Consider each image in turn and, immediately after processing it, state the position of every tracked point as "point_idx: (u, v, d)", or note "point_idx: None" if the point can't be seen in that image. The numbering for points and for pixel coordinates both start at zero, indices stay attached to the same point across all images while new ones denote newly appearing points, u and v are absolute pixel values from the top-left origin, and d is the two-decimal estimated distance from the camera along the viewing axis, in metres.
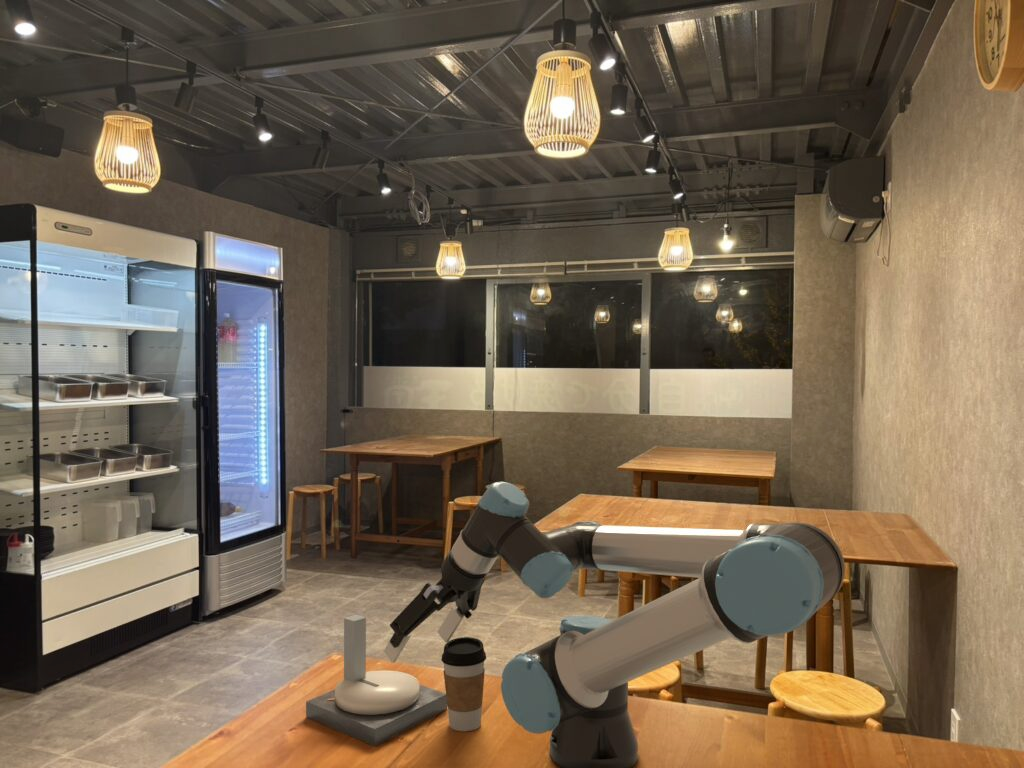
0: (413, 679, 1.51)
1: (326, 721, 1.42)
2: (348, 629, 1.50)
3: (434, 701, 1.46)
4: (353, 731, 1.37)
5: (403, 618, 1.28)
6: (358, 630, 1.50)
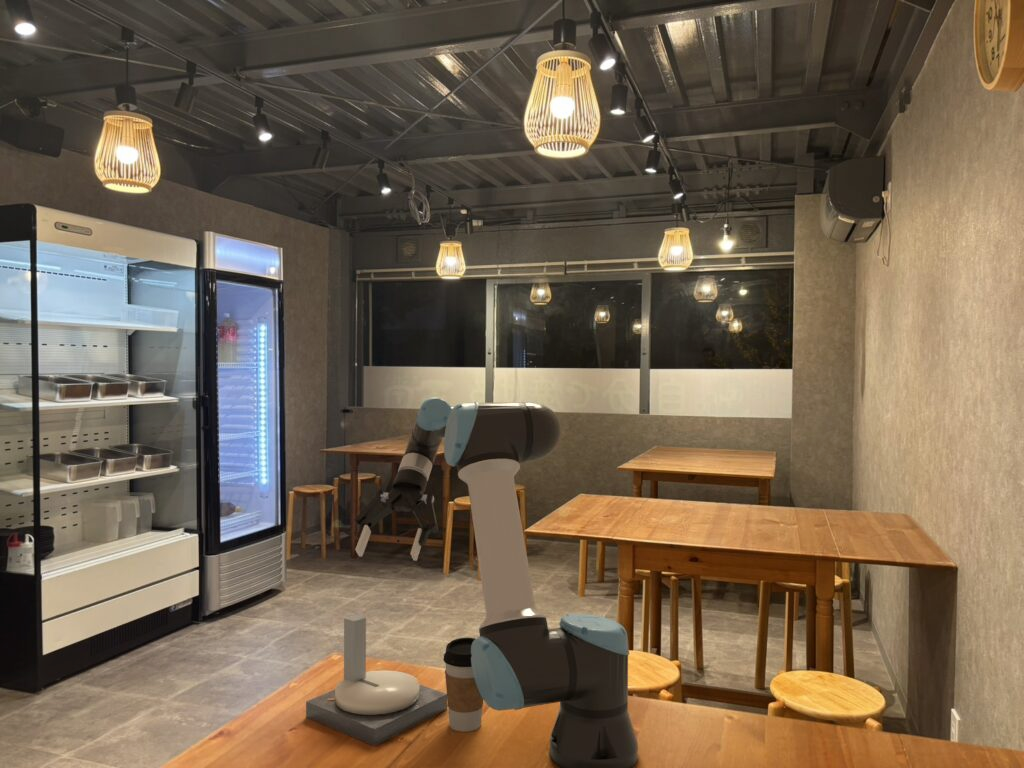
0: (413, 679, 1.51)
1: (326, 721, 1.42)
2: (348, 629, 1.50)
3: (434, 701, 1.46)
4: (353, 731, 1.37)
5: None
6: (358, 630, 1.50)
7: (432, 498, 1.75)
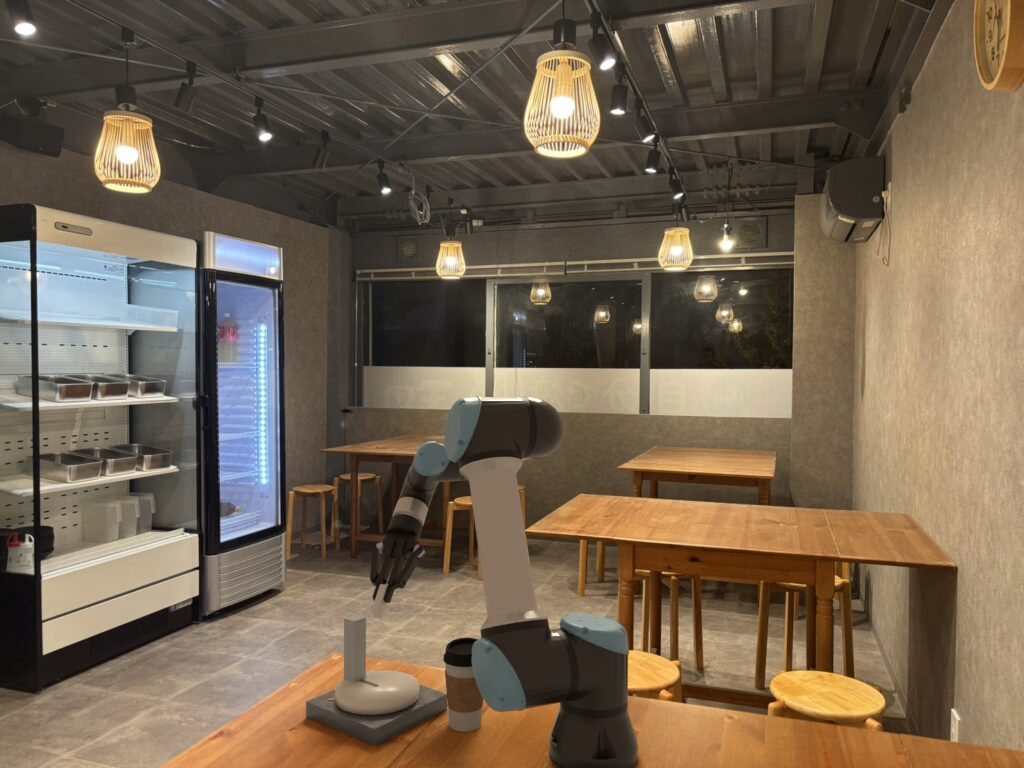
0: (413, 679, 1.51)
1: (326, 721, 1.42)
2: (348, 629, 1.50)
3: (434, 701, 1.46)
4: (353, 731, 1.37)
5: None
6: (358, 630, 1.50)
7: (420, 553, 1.69)
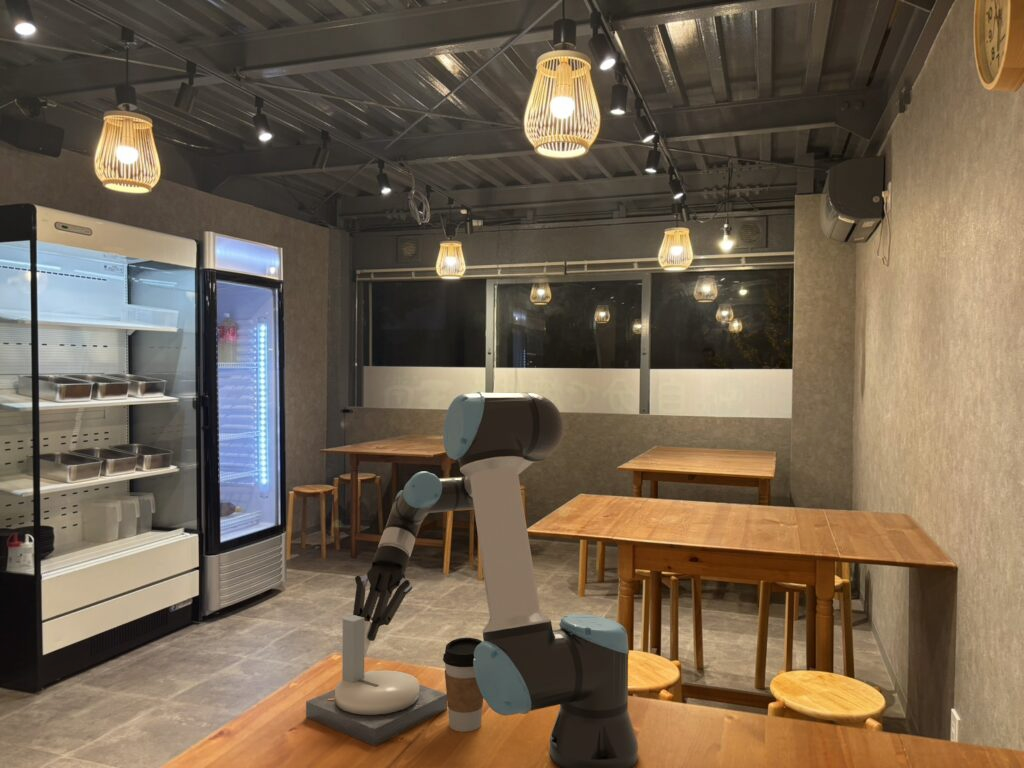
0: (413, 678, 1.51)
1: (326, 721, 1.42)
2: (347, 630, 1.50)
3: (434, 701, 1.46)
4: (353, 731, 1.37)
5: None
6: (357, 630, 1.49)
7: (406, 588, 1.62)
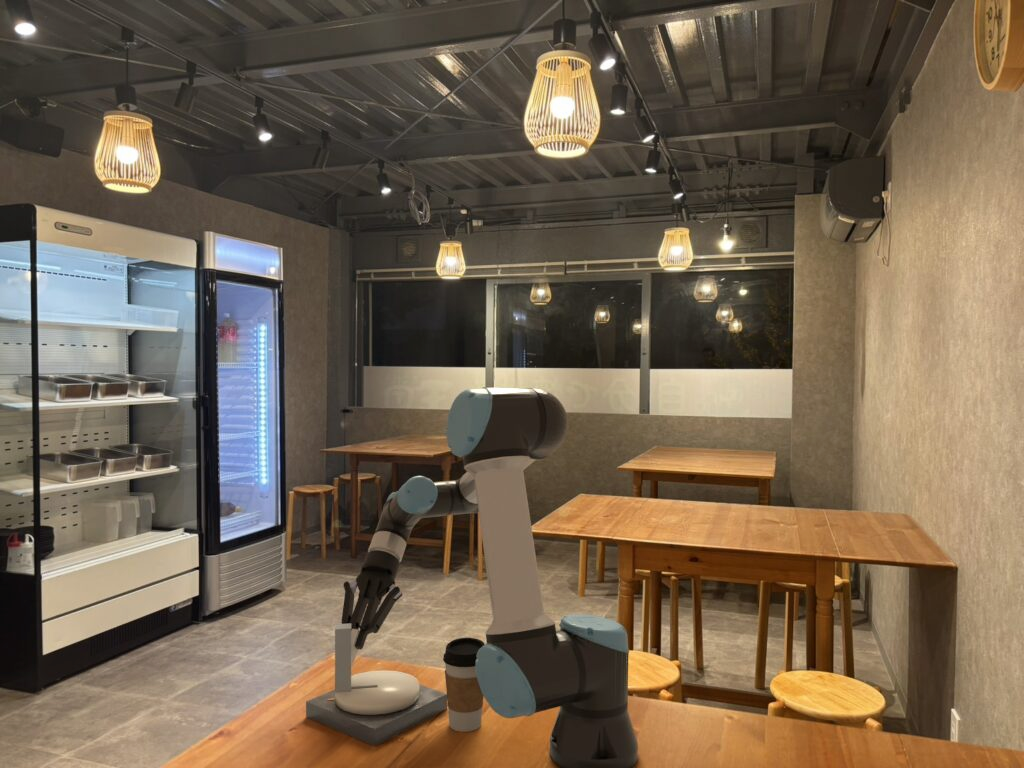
0: (392, 671, 1.54)
1: (326, 721, 1.42)
2: (342, 639, 1.44)
3: (434, 701, 1.46)
4: (353, 731, 1.37)
5: None
6: None
7: (396, 594, 1.57)
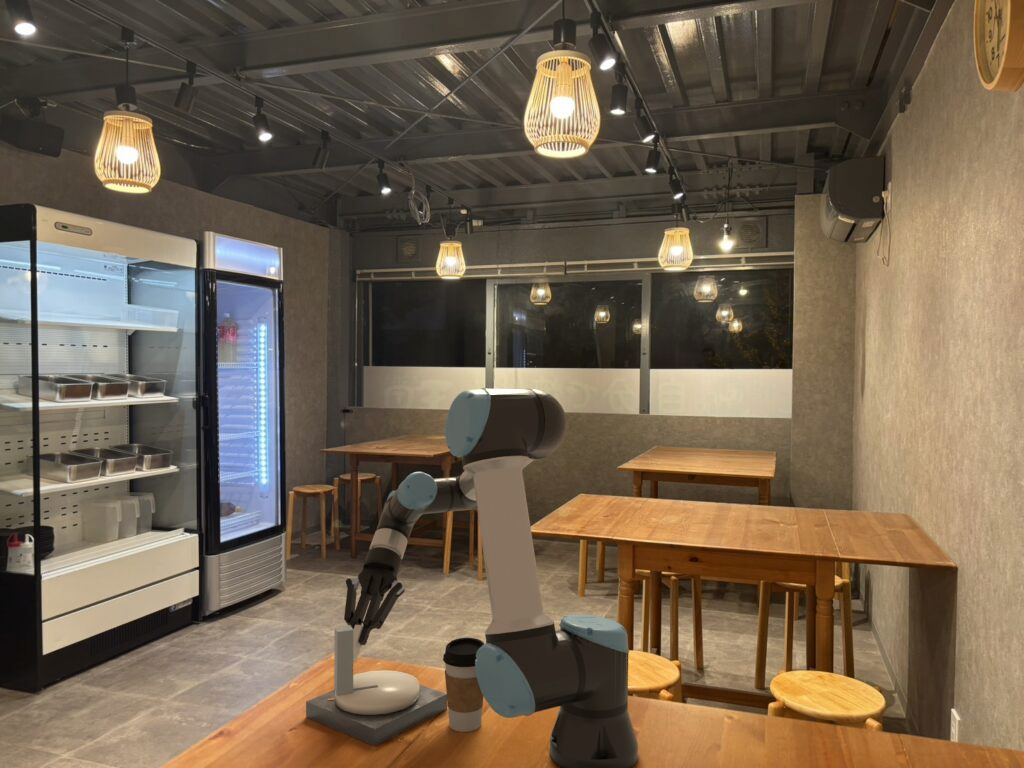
0: (385, 671, 1.55)
1: (326, 721, 1.42)
2: (344, 641, 1.43)
3: (434, 701, 1.46)
4: (353, 731, 1.37)
5: None
6: None
7: (398, 590, 1.58)
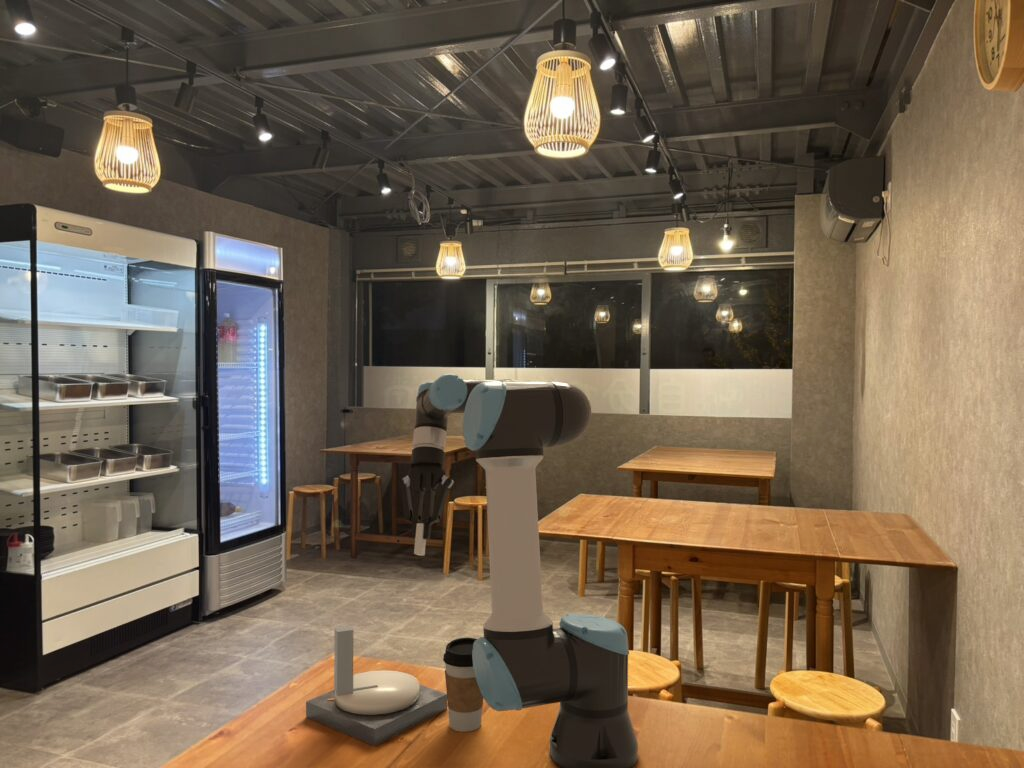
0: (385, 671, 1.55)
1: (326, 721, 1.42)
2: (344, 641, 1.43)
3: (434, 701, 1.46)
4: (353, 731, 1.37)
5: None
6: None
7: (449, 485, 1.69)
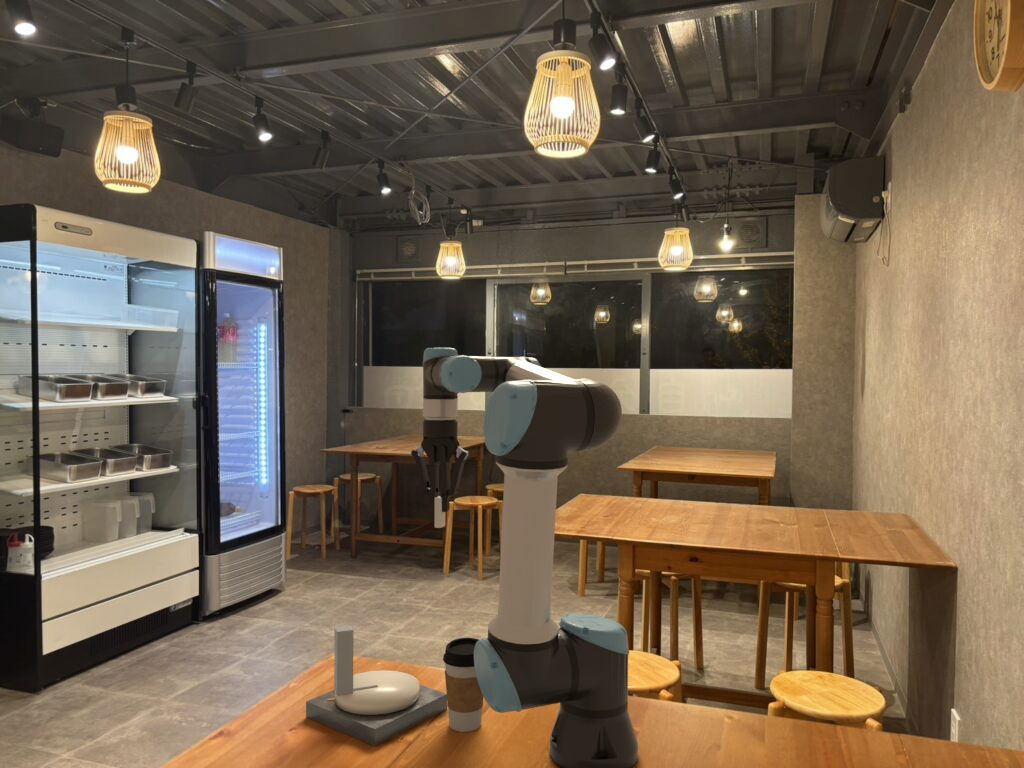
0: (385, 671, 1.55)
1: (326, 721, 1.42)
2: (344, 641, 1.43)
3: (434, 701, 1.46)
4: (353, 731, 1.37)
5: None
6: None
7: (464, 458, 1.64)
